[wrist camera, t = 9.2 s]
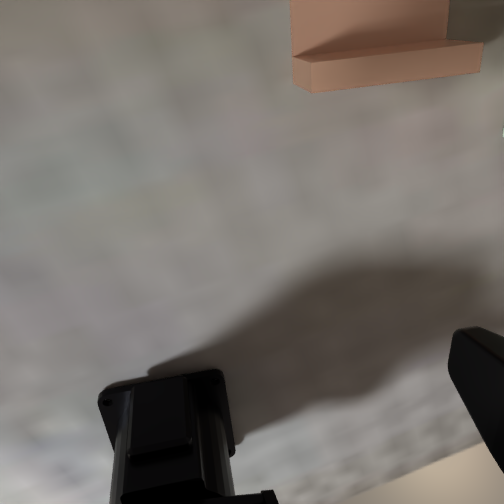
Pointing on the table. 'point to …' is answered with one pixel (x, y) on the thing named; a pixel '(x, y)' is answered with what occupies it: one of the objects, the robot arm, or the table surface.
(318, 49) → the cradle
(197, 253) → the table surface
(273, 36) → the table surface
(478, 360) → the robot arm
